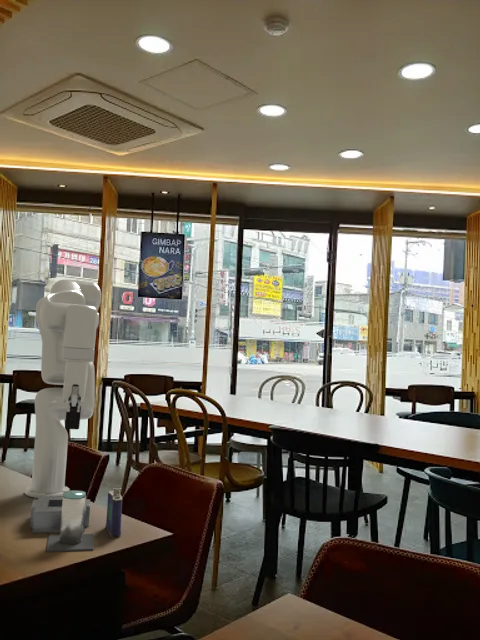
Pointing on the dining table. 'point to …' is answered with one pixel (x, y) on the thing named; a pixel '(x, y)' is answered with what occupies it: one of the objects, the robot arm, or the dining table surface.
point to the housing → (51, 514)
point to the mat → (82, 546)
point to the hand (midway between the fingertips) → (72, 425)
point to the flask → (114, 513)
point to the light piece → (72, 517)
